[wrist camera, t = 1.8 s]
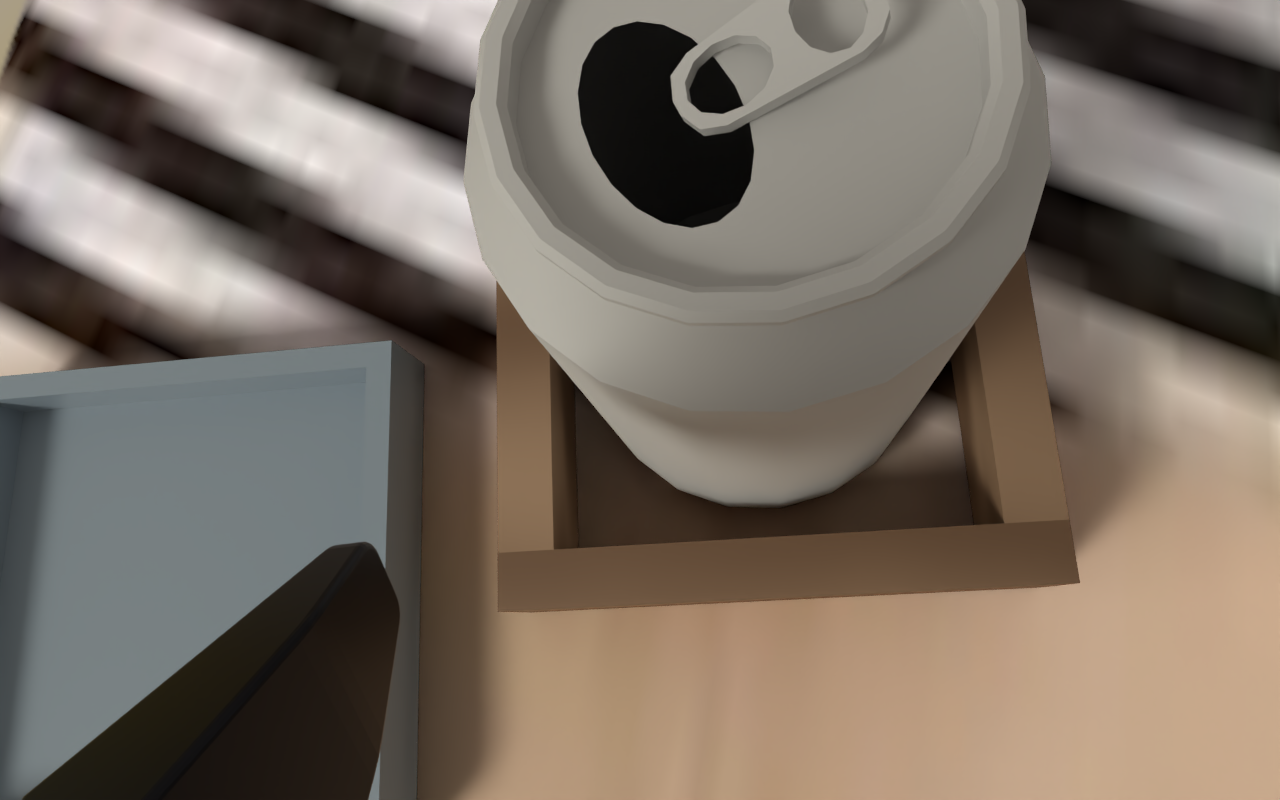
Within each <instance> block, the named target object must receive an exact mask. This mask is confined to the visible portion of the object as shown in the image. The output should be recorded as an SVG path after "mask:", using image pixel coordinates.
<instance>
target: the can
mask: <svg viewBox="0 0 1280 800" xmlns="http://www.w3.org/2000/svg"><path fill="white" fill-rule="evenodd" d="M1050 166H1051V150H1050V137H1049V124H1048V111H1047V98H1046V85H1045V76H1044V74H1043V72H1042V70H1041V67H1040V65H1039V63H1038V61H1037V59H1036V57H1035V55H1034V53H1033V51H1032V49H1031V46H1030V44H1029V42H1028V38H1027V24H1026V10H1025V7H1024V5H1023V3H1022V1H1021V0H498V2H497V4H496V6H495V8H494V11H493V13H492V15H491V17H490V20H489V22H488V24H487V26H486V29H485V31H484V33H483V35H482V38H481V40H480V48H479V58H478V69H477V79H476V89H475V96H474V98H473V100H472V103H471V110H470V120H469V130H468V140H467V151H466V161H465V171H464V181H463V182H464V186H465V190H466V194H467V198H468V202H469V206H470V211H471V215H472V219H473V223H474V227H475V231H476V235H477V239H478V243H479V247H480V251H481V255H482V259H483V261H484V262H485V264H486V265H487V267H488V268H489V270H490V271H491V273H492V274H493V276H494V277H495V279H496V280H497V282H498V283H499V285H500V286H501V288H502V289H503V291H504V292H505V294H506V295H507V297H508V298H509V300H510V301H511V303H512V304H513V306H514V307H515V309H516V310H517V312H518V313H519V315H520V316H521V318H522V319H523V321H524V322H525V324H526V325H527V327H528V328H529V329H530V331H531V332H532V333H533V334H534V335H535V337H536V338H537V339H538V340H539V341H540V343H541V344H542V345H543V346H544V347H545V349H546V350H547V351H548V352H549V353H550V354H551V356H552V357H553V358H554V359H555V360H556V362H557V363H558V364H559V365H560V366H561V368H562V369H563V370H564V371H565V372H566V374H567V375H568V376H569V377H570V378H571V380H572V381H573V382H574V383H575V384H576V386H577V387H578V388H579V389H580V390H581V391H582V393H583V394H584V395H585V396H586V397H587V399H588V400H589V401H590V402H591V403H592V405H593V406H594V407H595V408H596V409H597V411H598V412H599V413H600V414H601V415H602V417H603V418H604V419H605V420H606V421H607V423H608V424H609V425H610V426H611V427H612V428H613V430H614V431H615V432H616V433H617V434H618V436H619V437H620V438H621V439H622V440H623V442H624V443H625V444H626V445H627V446H628V448H629V449H630V450H631V451H632V452H633V454H634V455H635V456H636V457H637V458H638V459H639V460H640V461H641V462H643V463H644V464H645V465H647V466H648V467H649V468H651V469H652V470H653V471H654V472H656V473H657V474H658V475H660V476H661V477H662V478H664V479H665V480H666V481H668V482H669V483H670V484H671V485H673V486H674V487H675V488H677V489H678V490H681V491H684V492H686V493H689V494H692V495H695V496H698V497H701V498H704V499H706V500H709V501H712V502H715V503H718V504H721V505H723V506H726V507H755V508H783V507H786V506H789V505H793V504H796V503H799V502H803V501H806V500H810V499H813V498H816V497H820V496H823V495H827V494H830V493H832V492H834V491H835V490H837V489H838V488H840V487H841V486H843V485H844V484H845V483H847V482H848V481H850V480H851V479H853V478H854V477H856V476H857V475H858V474H860V473H861V472H863V471H864V470H866V469H867V468H869V467H870V466H871V465H873V464H874V463H876V461H877V460H878V459H879V457H880V456H881V455H882V453H883V452H884V451H885V449H886V448H887V446H888V445H889V444H890V442H891V441H892V440H893V438H894V437H895V436H896V434H897V433H898V432H899V430H900V429H901V428H902V426H903V425H904V424H905V422H906V421H907V420H908V418H909V417H910V415H911V414H912V412H913V411H914V409H915V408H916V407H917V405H918V404H919V402H920V401H921V399H922V398H923V396H924V395H925V394H926V392H927V391H928V389H929V388H930V386H931V385H932V383H933V382H934V381H935V379H936V378H937V376H938V375H939V373H940V372H941V370H942V369H943V368H944V366H945V365H946V363H947V362H948V360H949V359H950V357H951V356H952V355H953V353H954V352H955V350H956V349H957V347H958V346H959V344H960V343H961V342H962V340H963V339H964V337H965V336H966V334H967V333H968V331H969V330H970V329H971V327H972V326H973V324H974V323H975V321H976V320H977V318H978V317H979V316H980V314H981V313H982V311H983V310H984V308H985V307H986V305H987V304H988V303H989V301H990V300H991V298H992V297H993V295H994V294H995V292H996V291H997V290H998V288H999V287H1000V285H1001V284H1002V282H1003V281H1004V279H1005V278H1006V277H1007V275H1008V274H1009V272H1010V271H1011V269H1012V268H1013V266H1014V265H1015V264H1016V262H1017V261H1018V259H1019V258H1020V256H1021V255H1022V253H1023V252H1024V251H1025V249H1026V246H1027V242H1028V239H1029V236H1030V232H1031V229H1032V226H1033V222H1034V219H1035V216H1036V212H1037V209H1038V206H1039V202H1040V199H1041V196H1042V192H1043V189H1044V186H1045V182H1046V179H1047V176H1048V172H1049V169H1050Z"/></svg>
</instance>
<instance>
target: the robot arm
mask: <svg viewBox="0 0 1280 800" xmlns="http://www.w3.org/2000/svg"><path fill="white" fill-rule="evenodd" d="M399 625H400V606H399V602H398V598H397V595H396V593H395V591H394V588H393V586H392V584H391V582H390V579H389V577H388V575H387V572H386V570H385V568H384V565H383V563H382V561H381V558H380V556H379V554H378V552H377V550H376V549H375V547H374V546H373V545H372V544H370V543H368V542H356V543H348V544H340V545H334V546H331V547H329V548H328V549H326V550H325V551H324V552H322V553H321V554H320V555H319V556H318V557H316V558H315V559H314V560H313V561H311V562H310V563H309V564H308V565H307V566H305V567H304V568H303V569H302V570H300V571H299V572H298V573H297V574H295V575H294V576H293V577H292V578H291V579H289V580H288V581H287V582H286V583H284V584H283V585H282V586H281V587H280V588H278V589H277V590H276V591H275V592H273V593H272V594H271V595H270V596H269V597H267V598H266V599H265V600H264V601H262V602H261V603H260V604H259V605H257V606H256V607H255V608H254V609H253V610H251V611H250V612H249V613H248V614H246V615H245V616H244V617H243V618H242V619H240V620H239V621H238V622H237V623H235V624H234V625H233V626H232V627H231V628H229V629H228V630H227V631H226V632H224V633H223V634H222V635H221V636H219V637H218V638H217V639H216V640H215V641H213V642H212V643H211V644H210V645H208V646H207V647H206V648H205V649H204V650H202V651H201V652H200V653H199V654H197V655H196V656H195V657H194V658H193V659H191V660H190V661H189V662H188V663H186V664H185V665H184V666H183V667H181V668H180V669H179V670H178V671H177V672H175V673H174V674H173V675H172V676H170V677H169V678H168V679H167V680H166V681H164V682H163V683H162V684H161V685H159V686H158V687H157V688H156V689H155V690H153V691H152V692H151V693H150V694H148V695H147V696H146V697H145V698H143V699H142V700H141V701H140V702H139V703H137V704H136V705H135V706H134V707H132V708H131V709H130V710H129V711H128V712H126V713H125V714H124V715H123V716H121V717H120V718H119V719H118V720H117V721H115V722H114V723H113V724H112V725H110V726H109V727H108V728H107V729H105V730H104V731H103V732H102V733H101V734H99V735H98V736H97V737H96V738H94V739H93V740H92V741H91V742H90V743H88V744H87V745H86V746H85V747H83V748H82V749H81V750H80V751H79V752H77V753H76V754H75V755H74V756H72V757H71V758H70V759H69V760H67V761H66V762H65V763H64V764H63V765H61V766H60V767H59V768H58V769H56V770H55V771H54V772H53V773H52V774H50V775H49V776H48V777H47V778H45V779H44V780H43V781H42V782H41V783H39V784H38V785H37V786H36V787H34V788H33V789H32V790H31V791H29V792H28V793H27V794H26V795H25V796H24V797H23V798H22V800H368V799H369V795H370V791H371V788H372V784H373V780H374V776H375V772H376V767H377V763H378V759H379V754H380V749H381V743H382V738H383V732H384V725H385V719H386V712H387V705H388V699H389V692H390V685H391V679H392V672H393V665H394V659H395V652H396V645H397V638H398V632H399Z"/></svg>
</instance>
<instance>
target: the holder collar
mask: <svg viewBox="0 0 1280 800" xmlns="http://www.w3.org/2000/svg"><path fill="white" fill-rule="evenodd" d="M951 364H952V371H953V378H954V385H955V392H956V399H957V406H958V414H959V421H960V428H961V435H962V442H963V449H964V456H965V464H966V471H967V478H968V485H969V492H970V499H971V506H972V514H973V521H974V525H967V526H950V527H933V528H916V529H899V530H881V531H864V532H847V533H830V534H813V535H796V536H779V537H761V538H744V539H727V540H710V541H693V542H676V543H659V544H641V545H624V546H607V547H590V548H579V540H578V504H577V467H576V430H575V393H574V382H573V381H572V380H571V378H570V377H569V376H568V375H567V374H566V372H565V371H564V370H563V369H562V368H561V366H560V365H559V364H558V363H557V362H556V360H555V359H554V358H553V357H552V356H551V354H550V353H549V352H548V351H547V350H546V349H545V347H544V346H543V345H542V344H541V343H540V341H539V340H538V339H537V338H536V337H535V335H534V334H533V333H532V332H531V331H530V329H529V328H528V327H527V325H526V324H525V322H524V321H523V319H522V318H521V316H520V315H519V313H518V312H517V310H516V309H515V307H514V306H513V304H512V303H511V301H510V300H509V298H508V297H507V295H506V294H505V292H504V291H503V289H502V288H501V286H500V285H499V283H498V282H497V501H498V612H547V611H567V610H587V609H608V608H628V607H649V606H669V605H689V604H710V603H730V602H751V601H771V600H792V599H812V598H832V597H853V596H873V595H894V594H914V593H935V592H955V591H975V590H996V589H1016V588H1037V587H1048V586H1057V585H1066V584H1075V583H1080V580H1079V574H1078V568H1077V562H1076V556H1075V550H1074V544H1073V538H1072V532H1071V526H1070V520H1069V514H1068V508H1067V502H1066V496H1065V490H1064V484H1063V478H1062V472H1061V466H1060V460H1059V454H1058V448H1057V442H1056V436H1055V431H1054V425H1053V419H1052V413H1051V407H1050V401H1049V395H1048V389H1047V383H1046V377H1045V371H1044V365H1043V359H1042V353H1041V347H1040V341H1039V335H1038V329H1037V323H1036V317H1035V311H1034V305H1033V299H1032V293H1031V287H1030V281H1029V275H1028V269H1027V263H1026V257H1025V251H1024V252H1023V253H1022V255H1021V256H1020V258H1019V259H1018V261H1017V262H1016V264H1015V265H1014V266H1013V268H1012V269H1011V271H1010V272H1009V274H1008V275H1007V277H1006V278H1005V279H1004V281H1003V282H1002V284H1001V285H1000V287H999V288H998V290H997V291H996V292H995V294H994V295H993V297H992V298H991V300H990V301H989V303H988V304H987V305H986V307H985V308H984V310H983V311H982V313H981V314H980V316H979V317H978V318H977V320H976V321H975V323H974V324H973V326H972V327H971V329H970V330H969V331H968V333H967V334H966V336H965V337H964V339H963V340H962V342H961V343H960V344H959V346H958V347H957V349H956V350H955V352H954V353H953V355H952V356H951Z"/></svg>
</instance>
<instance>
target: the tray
mask: <svg viewBox="0 0 1280 800" xmlns="http://www.w3.org/2000/svg"><path fill="white" fill-rule="evenodd" d="M423 408H424V364H423V363H422V362H420V361H419V360H418V359H416V358H415V357H414V356H412V355H411V354H409V353H408V352H407V351H405V350H404V349H403V348H401V347H400V346H399V345H397V344H396V343H394V342H393V341H392V340H390V341H380V342H369V343H358V344H347V345H336V346H325V347H315V348H304V349H293V350H282V351H271V352H261V353H250V354H239V355H228V356H217V357H206V358H196V359H185V360H174V361H163V362H152V363H141V364H131V365H120V366H109V367H98V368H87V369H76V370H66V371H55V372H44V373H33V374H22V375H12V376H1V377H0V800H22V798H23V797H24V796H25V795H26V794H27V793H28V792H29V791H31V790H32V789H33V788H34V787H36V786H37V785H38V784H39V783H41V782H42V781H43V780H44V779H45V778H47V777H48V776H49V775H50V774H52V773H53V772H54V771H55V770H56V769H58V768H59V767H60V766H61V765H63V764H64V763H65V762H66V761H67V760H69V759H70V758H71V757H72V756H74V755H75V754H76V753H77V752H79V751H80V750H81V749H82V748H83V747H85V746H86V745H87V744H88V743H90V742H91V741H92V740H93V739H94V738H96V737H97V736H98V735H99V734H101V733H102V732H103V731H104V730H105V729H107V728H108V727H109V726H110V725H112V724H113V723H114V722H115V721H117V720H118V719H119V718H120V717H121V716H123V715H124V714H125V713H126V712H128V711H129V710H130V709H131V708H132V707H134V706H135V705H136V704H137V703H139V702H140V701H141V700H142V699H143V698H145V697H146V696H147V695H148V694H150V693H151V692H152V691H153V690H155V689H156V688H157V687H158V686H159V685H161V684H162V683H163V682H164V681H166V680H167V679H168V678H169V677H170V676H172V675H173V674H174V673H175V672H177V671H178V670H179V669H180V668H181V667H183V666H184V665H185V664H186V663H188V662H189V661H190V660H191V659H193V658H194V657H195V656H196V655H197V654H199V653H200V652H201V651H202V650H204V649H205V648H206V647H207V646H208V645H210V644H211V643H212V642H213V641H215V640H216V639H217V638H218V637H219V636H221V635H222V634H223V633H224V632H226V631H227V630H228V629H229V628H231V627H232V626H233V625H234V624H235V623H237V622H238V621H239V620H240V619H242V618H243V617H244V616H245V615H246V614H248V613H249V612H250V611H251V610H253V609H254V608H255V607H256V606H257V605H259V604H260V603H261V602H262V601H264V600H265V599H266V598H267V597H269V596H270V595H271V594H272V593H273V592H275V591H276V590H277V589H278V588H280V587H281V586H282V585H283V584H284V583H286V582H287V581H288V580H289V579H291V578H292V577H293V576H294V575H295V574H297V573H298V572H299V571H300V570H302V569H303V568H304V567H305V566H307V565H308V564H309V563H310V562H311V561H313V560H314V559H315V558H316V557H318V556H319V555H320V554H321V553H322V552H324V551H325V550H326V549H328V548H329V547H331V546H334V545H340V544H348V543H356V542H368V543H370V544H372V545H373V546H374V547H375V549H376V550H377V552H378V554H379V556H380V558H381V561H382V563H383V565H384V568H385V570H386V572H387V575H388V577H389V579H390V582H391V584H392V586H393V588H394V591H395V593H396V595H397V598H398V602H399V606H400V625H399V632H398V638H397V645H396V652H395V659H394V665H393V672H392V679H391V685H390V692H389V699H388V705H387V712H386V719H385V725H384V732H383V738H382V743H381V749H380V754H379V759H378V763H377V767H376V772H375V776H374V780H373V784H372V788H371V791H370V795H369V799H368V800H417V754H418V696H419V639H420V581H421V523H422V466H423Z"/></svg>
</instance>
